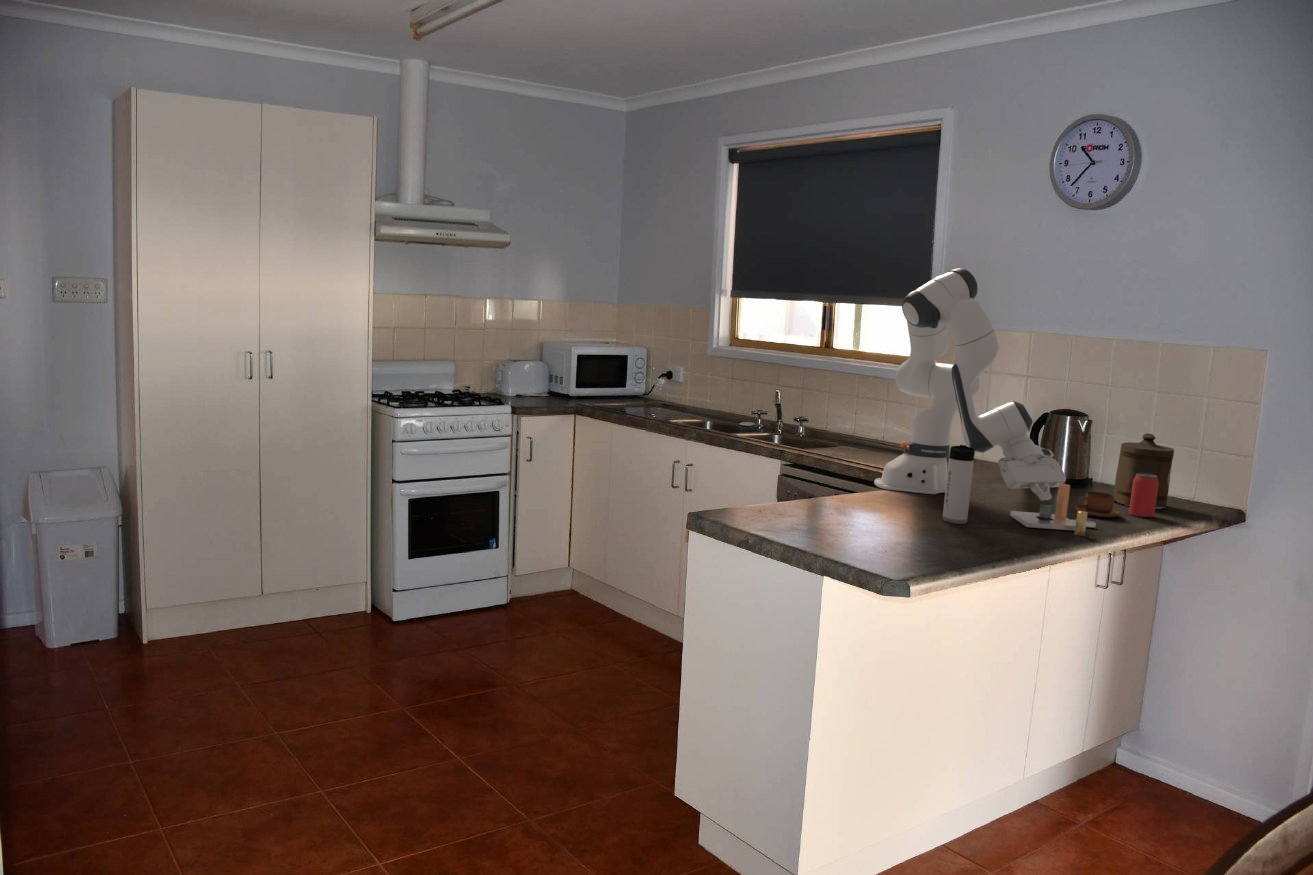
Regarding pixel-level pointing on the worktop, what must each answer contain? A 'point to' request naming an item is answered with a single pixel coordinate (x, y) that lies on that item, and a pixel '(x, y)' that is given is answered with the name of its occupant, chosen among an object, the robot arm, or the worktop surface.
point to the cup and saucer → (1098, 505)
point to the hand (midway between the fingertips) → (1046, 499)
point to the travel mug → (958, 484)
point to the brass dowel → (1081, 523)
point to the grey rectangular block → (1045, 512)
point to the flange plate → (1057, 519)
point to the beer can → (1144, 495)
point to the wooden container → (1143, 468)
